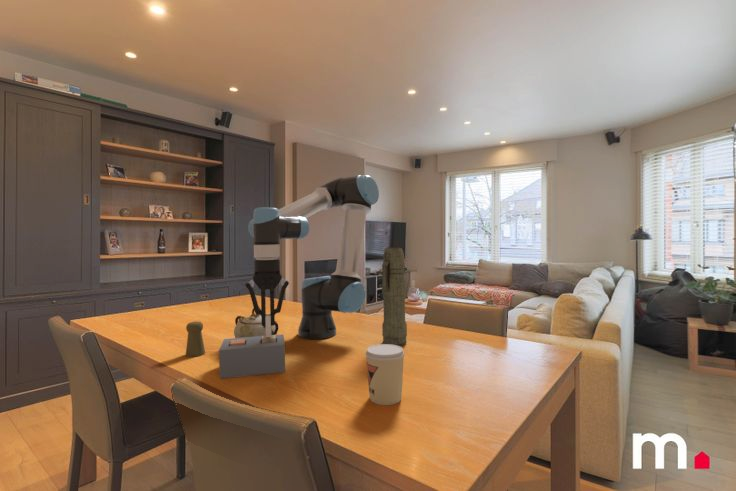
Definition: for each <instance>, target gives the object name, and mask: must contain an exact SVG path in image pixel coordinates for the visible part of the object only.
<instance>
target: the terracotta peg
mask: <svg viewBox="0 0 736 491" xmlns="http://www.w3.org/2000/svg"><path fill="white" fill-rule="evenodd" d="M235 345H245V339H240V340H231V342H230V346H235Z"/></svg>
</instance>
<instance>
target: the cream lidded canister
mask: <svg viewBox="0 0 736 491" xmlns="http://www.w3.org/2000/svg"><path fill="white" fill-rule="evenodd" d="M365 356H366V368H367V370H366V371H367V382H368V392H369V393H368V394H369V399H370V401H371V402H372V403H374V404H376V405H380V406H390V405H391V406H392V405H395V404H398V403H400V402H401V401H402V394H403V379H404V378H403V377H404V376H403V375H404V356H405V351H404V349H403V347H402V346H401V345H400V346H397V345H392V344H384V343H378V344H373V345H370V346H368V347H367V348H366V351H365Z"/></svg>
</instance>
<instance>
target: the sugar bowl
mask: <svg viewBox="0 0 736 491" xmlns="http://www.w3.org/2000/svg"><path fill="white" fill-rule="evenodd" d="M259 309H260V310H261V307H260V306H259ZM234 321H235V322H234V323H235V327H234V328H233V329H234V330H233V334H234V338H243V337H256V336H266V326H262V318H261V315H259V314H256V313H255V310H254V307H253V308H252V310H251V315H249V316H246V317H245V316H242V315H237V316H236V318H235V320H234ZM278 332H279V325H278V322H277V321H276V320H275V324H274V325H272V326H271V335H278Z"/></svg>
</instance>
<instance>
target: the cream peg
mask: <svg viewBox="0 0 736 491" xmlns="http://www.w3.org/2000/svg"><path fill="white" fill-rule="evenodd" d="M271 342H276V335H271V337H268V338H266V336H262V343H271Z"/></svg>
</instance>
